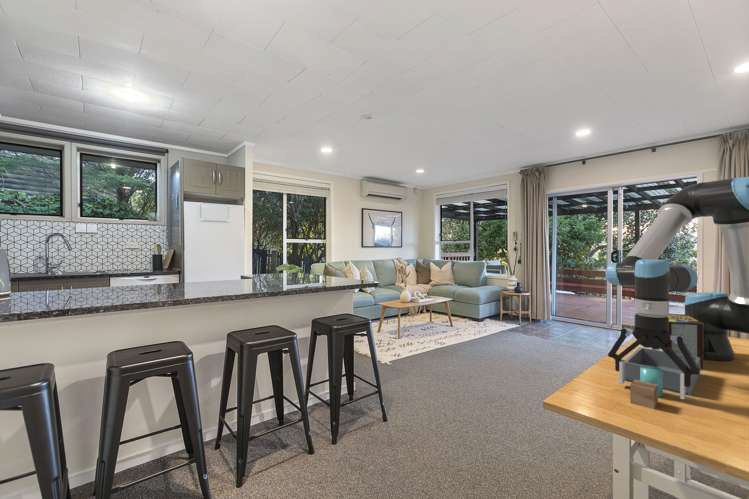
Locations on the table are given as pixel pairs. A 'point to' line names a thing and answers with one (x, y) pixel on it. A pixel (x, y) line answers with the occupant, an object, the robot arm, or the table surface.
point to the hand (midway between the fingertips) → (650, 389)
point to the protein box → (686, 334)
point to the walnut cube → (644, 394)
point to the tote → (663, 362)
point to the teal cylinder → (652, 377)
